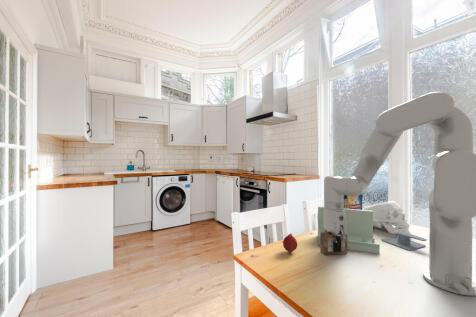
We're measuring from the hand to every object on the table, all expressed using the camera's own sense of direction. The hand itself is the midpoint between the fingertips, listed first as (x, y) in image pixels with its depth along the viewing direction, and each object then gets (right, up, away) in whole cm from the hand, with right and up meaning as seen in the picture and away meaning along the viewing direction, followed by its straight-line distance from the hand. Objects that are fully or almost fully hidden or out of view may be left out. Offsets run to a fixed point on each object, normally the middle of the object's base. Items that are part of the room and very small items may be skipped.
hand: (333, 248), depth 88 cm
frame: (0, -2, 0) cm, 2 cm away
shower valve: (+37, -2, +9) cm, 39 cm away
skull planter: (+43, -2, +30) cm, 52 cm away
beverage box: (+20, -2, +25) cm, 32 cm away
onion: (-18, -2, 0) cm, 19 cm away
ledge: (+10, -2, +10) cm, 14 cm away
